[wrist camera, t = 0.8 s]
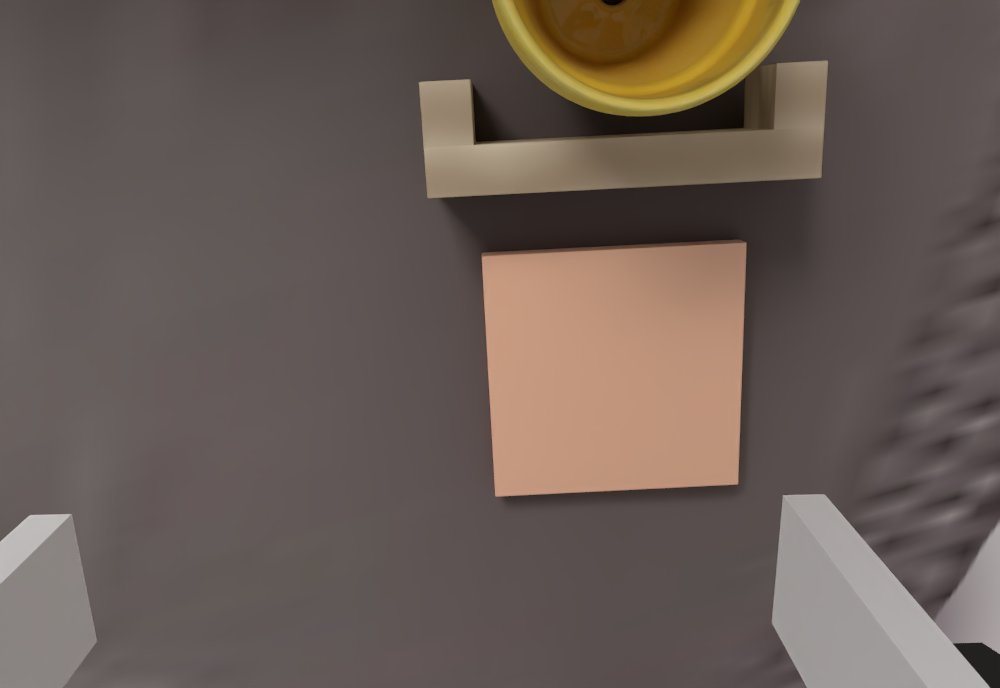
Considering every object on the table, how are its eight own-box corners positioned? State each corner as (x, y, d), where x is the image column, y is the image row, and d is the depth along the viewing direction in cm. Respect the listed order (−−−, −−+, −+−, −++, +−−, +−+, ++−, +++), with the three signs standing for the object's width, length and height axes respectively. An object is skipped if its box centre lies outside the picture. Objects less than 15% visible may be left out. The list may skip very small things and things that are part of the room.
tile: (481, 252, 37) (481, 256, 36) (740, 239, 37) (746, 242, 36) (495, 487, 40) (495, 496, 39) (732, 475, 40) (738, 484, 39)
